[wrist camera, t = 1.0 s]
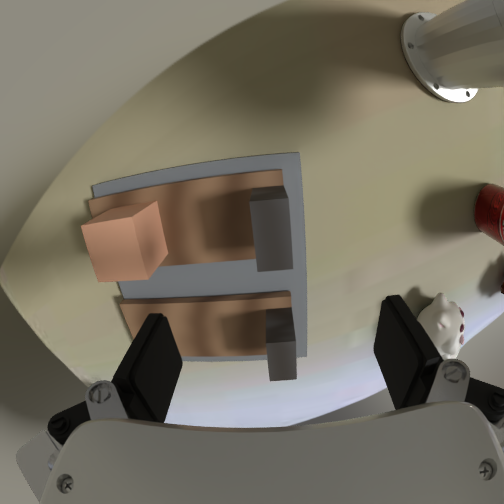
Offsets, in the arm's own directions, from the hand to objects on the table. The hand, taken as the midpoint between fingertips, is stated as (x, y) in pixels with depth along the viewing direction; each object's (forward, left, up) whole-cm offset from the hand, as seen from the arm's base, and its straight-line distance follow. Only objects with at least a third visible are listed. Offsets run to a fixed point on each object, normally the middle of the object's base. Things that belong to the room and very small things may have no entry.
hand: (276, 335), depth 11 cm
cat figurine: (-24, +19, -20) cm, 37 cm away
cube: (+14, 0, -18) cm, 23 cm away
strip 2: (+9, +14, -19) cm, 25 cm away
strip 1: (+9, 0, -19) cm, 21 cm away
